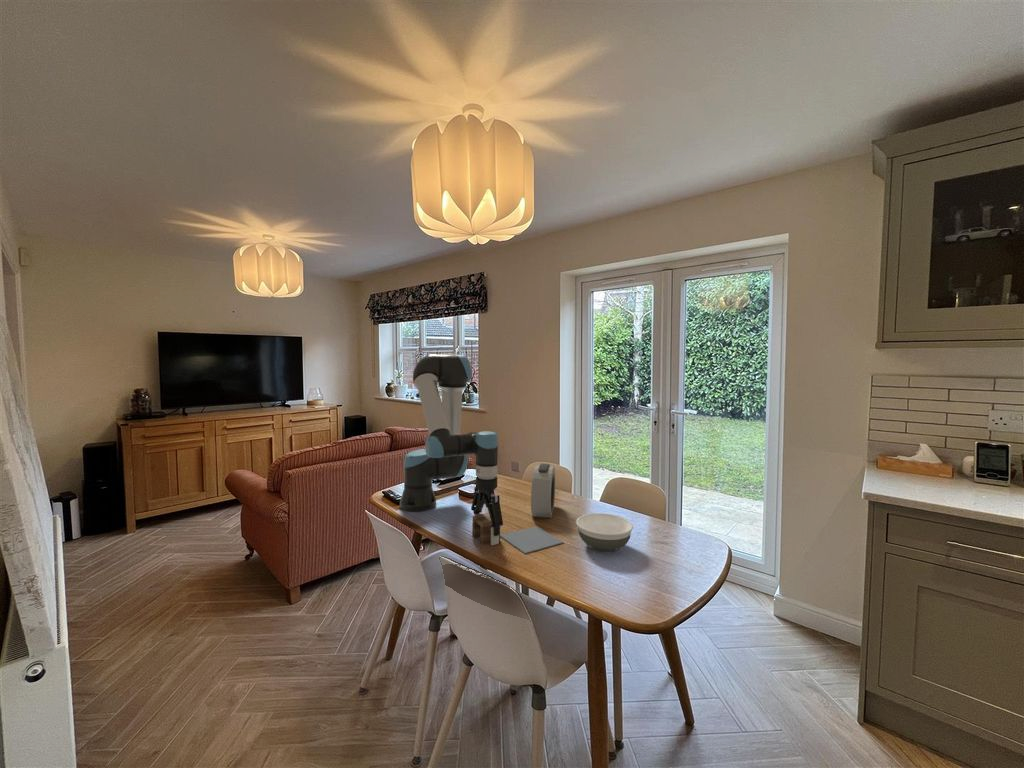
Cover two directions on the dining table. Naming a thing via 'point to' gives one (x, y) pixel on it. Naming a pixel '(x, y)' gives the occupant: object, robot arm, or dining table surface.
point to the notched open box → (482, 528)
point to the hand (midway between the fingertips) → (486, 537)
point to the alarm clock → (543, 491)
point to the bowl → (604, 531)
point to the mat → (531, 539)
